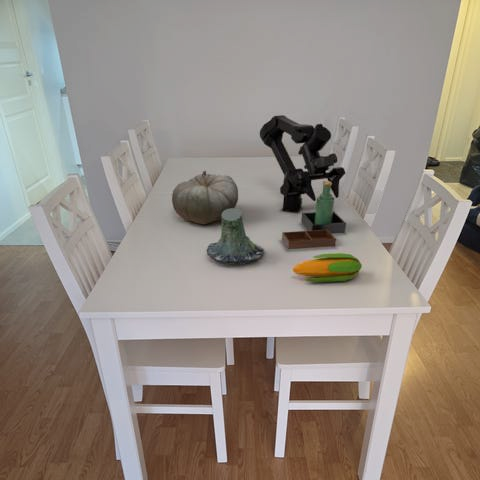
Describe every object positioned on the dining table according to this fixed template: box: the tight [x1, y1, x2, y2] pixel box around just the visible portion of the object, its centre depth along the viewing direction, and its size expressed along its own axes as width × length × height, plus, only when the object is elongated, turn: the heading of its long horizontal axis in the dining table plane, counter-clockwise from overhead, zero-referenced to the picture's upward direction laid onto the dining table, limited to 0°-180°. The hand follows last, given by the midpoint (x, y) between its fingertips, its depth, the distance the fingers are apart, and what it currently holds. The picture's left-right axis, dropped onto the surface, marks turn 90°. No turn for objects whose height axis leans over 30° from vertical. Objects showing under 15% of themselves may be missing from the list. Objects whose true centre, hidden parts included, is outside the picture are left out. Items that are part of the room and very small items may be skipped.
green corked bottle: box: [314, 180, 335, 224], centre depth 158 cm, size 6×6×16 cm
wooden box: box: [281, 230, 337, 250], centre depth 150 cm, size 8×16×3 cm, turn 100°
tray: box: [300, 210, 347, 235], centre depth 161 cm, size 12×12×4 cm
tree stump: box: [206, 207, 265, 266], centre depth 139 cm, size 18×20×18 cm
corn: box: [292, 252, 363, 283], centre depth 128 cm, size 7×8×20 cm
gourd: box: [171, 170, 239, 225], centre depth 166 cm, size 25×25×17 cm
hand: (326, 199), depth 156 cm, fingers open, 9 cm apart
